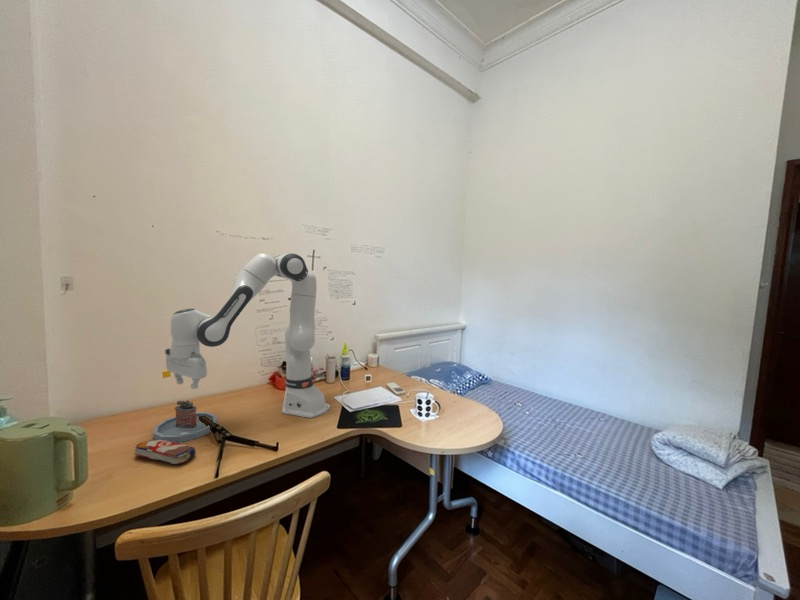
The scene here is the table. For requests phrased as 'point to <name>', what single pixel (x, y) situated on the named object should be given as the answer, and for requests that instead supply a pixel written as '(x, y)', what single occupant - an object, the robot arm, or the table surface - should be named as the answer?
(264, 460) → the table surface
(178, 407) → the lighter
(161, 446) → the pencil case
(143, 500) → the table surface
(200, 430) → the dish
